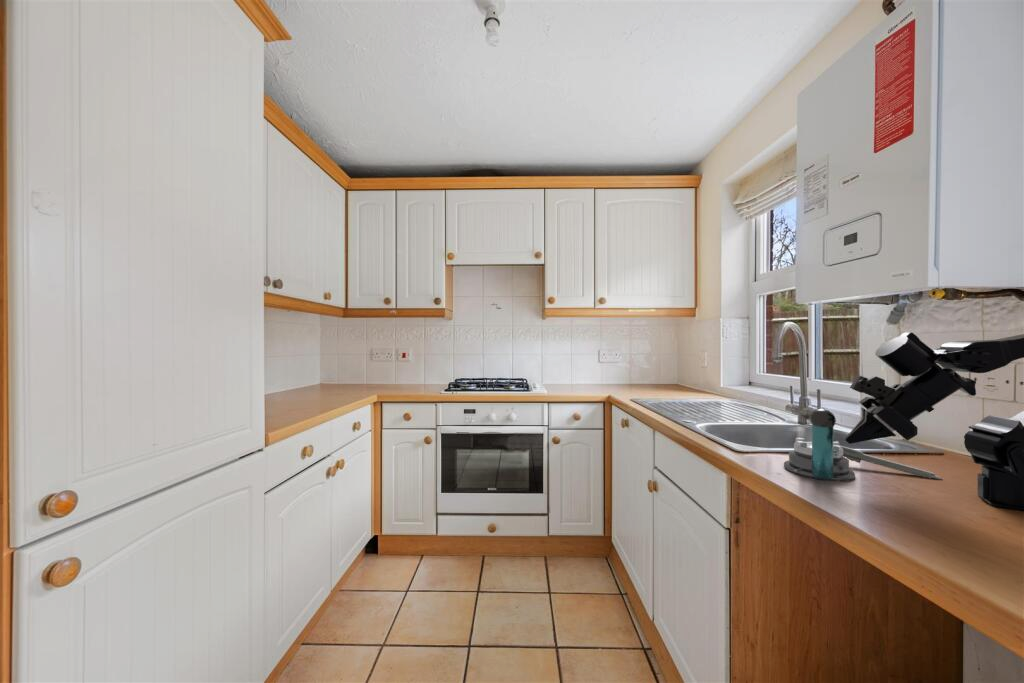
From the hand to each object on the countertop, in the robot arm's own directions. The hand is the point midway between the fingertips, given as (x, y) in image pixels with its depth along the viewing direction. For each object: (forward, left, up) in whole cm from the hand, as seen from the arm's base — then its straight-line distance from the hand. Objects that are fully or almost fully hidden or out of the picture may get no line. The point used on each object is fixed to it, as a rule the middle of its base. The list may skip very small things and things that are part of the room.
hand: (846, 441), depth 84 cm
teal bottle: (+4, -5, -8) cm, 10 cm away
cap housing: (+4, -8, -9) cm, 13 cm away
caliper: (-8, -17, -10) cm, 21 cm away
